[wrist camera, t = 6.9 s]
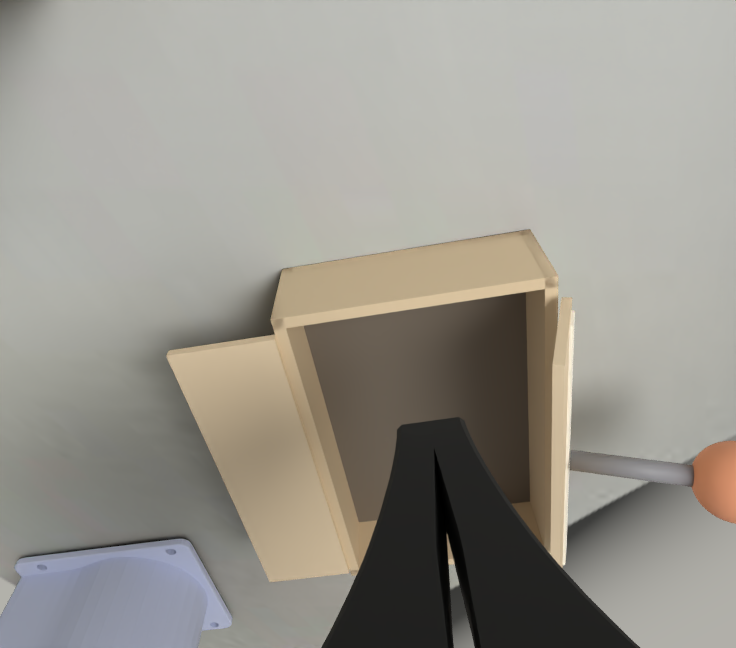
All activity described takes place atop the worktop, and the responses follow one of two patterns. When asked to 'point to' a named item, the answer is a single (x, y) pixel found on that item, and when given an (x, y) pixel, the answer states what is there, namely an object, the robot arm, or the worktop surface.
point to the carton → (379, 391)
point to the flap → (706, 475)
